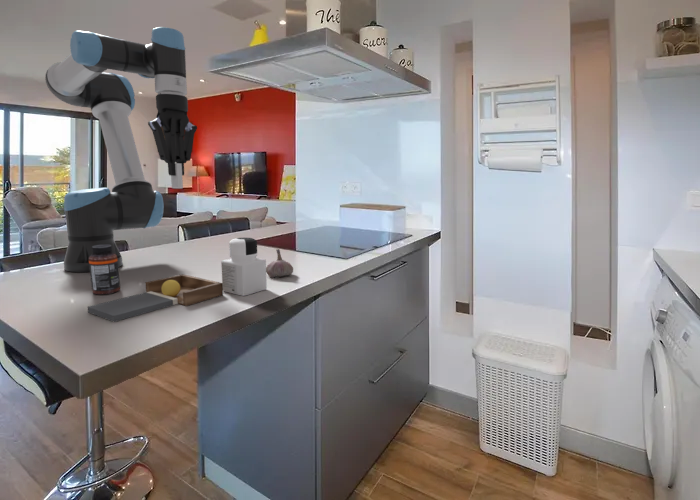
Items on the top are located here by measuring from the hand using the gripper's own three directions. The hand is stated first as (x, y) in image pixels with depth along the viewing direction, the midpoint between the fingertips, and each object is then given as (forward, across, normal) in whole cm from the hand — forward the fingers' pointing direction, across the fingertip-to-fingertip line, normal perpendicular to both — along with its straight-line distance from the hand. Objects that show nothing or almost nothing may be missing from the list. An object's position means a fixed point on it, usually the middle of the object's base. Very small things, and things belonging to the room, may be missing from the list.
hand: (177, 188), depth 112 cm
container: (+25, +1, -24) cm, 34 cm away
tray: (+24, -10, -16) cm, 31 cm away
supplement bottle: (+25, -20, +2) cm, 31 cm away
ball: (+22, -14, -15) cm, 30 cm away
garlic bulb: (+25, +17, -21) cm, 36 cm away
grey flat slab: (+24, -22, -15) cm, 36 cm away
